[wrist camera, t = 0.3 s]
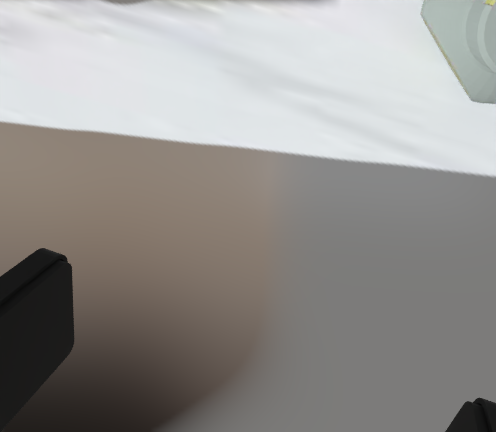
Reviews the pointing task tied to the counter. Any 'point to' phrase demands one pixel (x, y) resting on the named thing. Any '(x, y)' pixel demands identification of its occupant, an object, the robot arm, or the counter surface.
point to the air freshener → (466, 42)
